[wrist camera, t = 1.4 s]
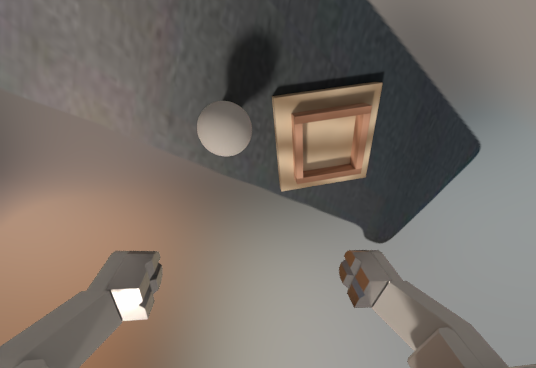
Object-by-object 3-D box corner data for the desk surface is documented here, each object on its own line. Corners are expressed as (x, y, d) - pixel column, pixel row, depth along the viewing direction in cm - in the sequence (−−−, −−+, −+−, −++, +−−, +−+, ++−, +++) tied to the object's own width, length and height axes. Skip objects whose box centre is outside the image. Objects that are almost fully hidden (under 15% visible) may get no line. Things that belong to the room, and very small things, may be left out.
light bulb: (256, 117, 29) (265, 143, 21) (225, 142, 31) (222, 175, 22) (228, 81, 26) (226, 93, 18) (195, 110, 28) (179, 133, 19)
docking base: (271, 96, 28) (276, 101, 25) (376, 81, 29) (392, 84, 26) (280, 186, 36) (284, 198, 33) (361, 172, 37) (371, 183, 34)
